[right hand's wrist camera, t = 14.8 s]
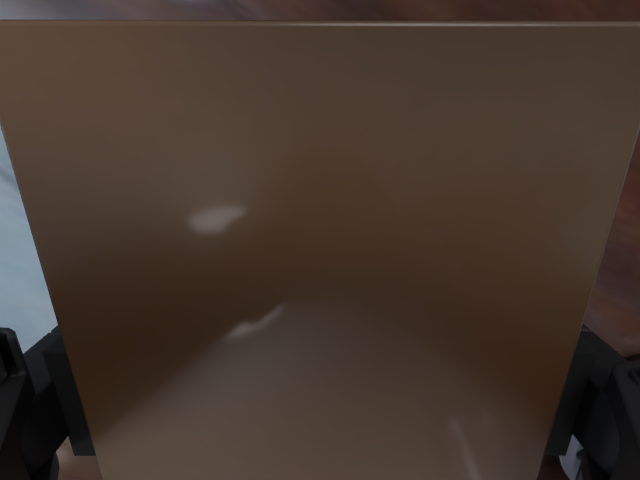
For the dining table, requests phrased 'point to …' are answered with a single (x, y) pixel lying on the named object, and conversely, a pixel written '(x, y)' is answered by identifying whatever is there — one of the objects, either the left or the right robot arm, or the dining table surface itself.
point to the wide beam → (320, 234)
